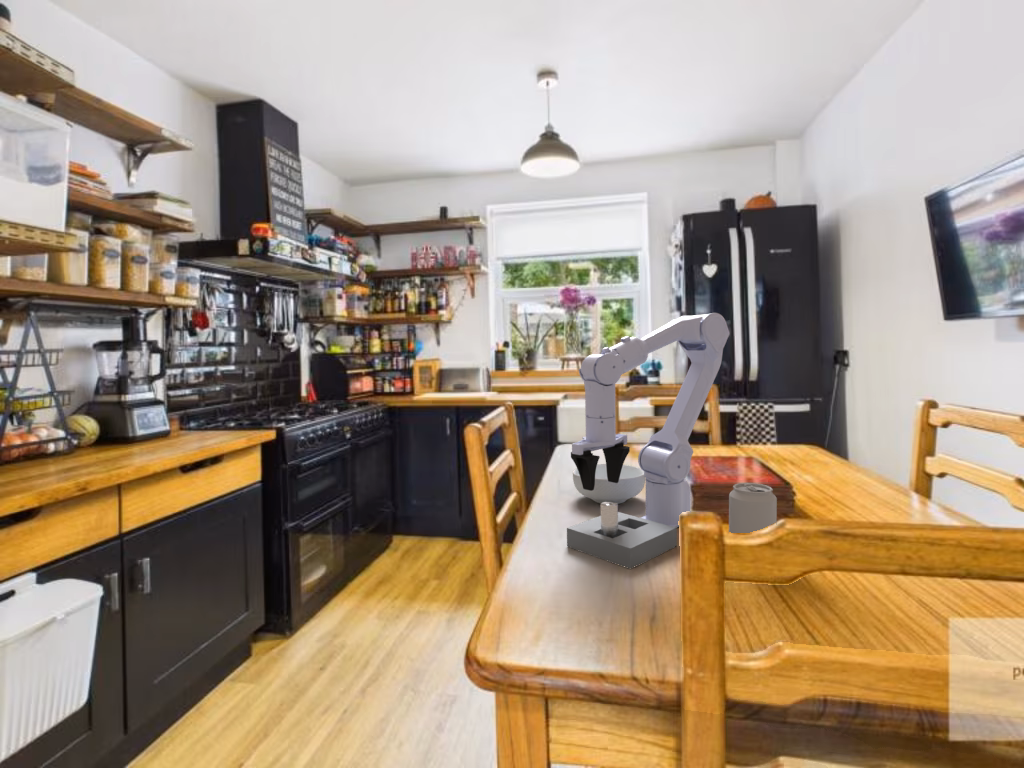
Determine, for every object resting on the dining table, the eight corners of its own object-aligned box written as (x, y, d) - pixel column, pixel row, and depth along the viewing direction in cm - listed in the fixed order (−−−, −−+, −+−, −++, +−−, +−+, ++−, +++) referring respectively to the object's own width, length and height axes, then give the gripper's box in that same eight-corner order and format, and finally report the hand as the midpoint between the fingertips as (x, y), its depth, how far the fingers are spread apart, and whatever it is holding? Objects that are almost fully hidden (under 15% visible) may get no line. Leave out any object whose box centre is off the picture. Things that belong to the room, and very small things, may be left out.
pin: (609, 543, 98) (608, 500, 97) (621, 548, 95) (621, 504, 95) (597, 547, 96) (597, 504, 95) (610, 552, 93) (609, 508, 93)
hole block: (614, 527, 107) (614, 510, 107) (676, 546, 97) (676, 527, 97) (567, 546, 98) (566, 527, 98) (630, 569, 88) (630, 548, 87)
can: (748, 565, 88) (749, 494, 87) (719, 549, 95) (719, 482, 94) (786, 559, 90) (787, 489, 89) (754, 544, 97) (755, 479, 96)
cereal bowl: (640, 490, 134) (640, 462, 134) (650, 510, 118) (650, 479, 117) (572, 490, 136) (572, 462, 136) (573, 510, 120) (573, 479, 119)
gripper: (607, 411, 111) (607, 475, 112) (559, 418, 101) (560, 489, 102) (635, 413, 106) (636, 481, 107) (588, 422, 96) (589, 496, 97)
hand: (601, 485), depth 104 cm, fingers open, 7 cm apart
